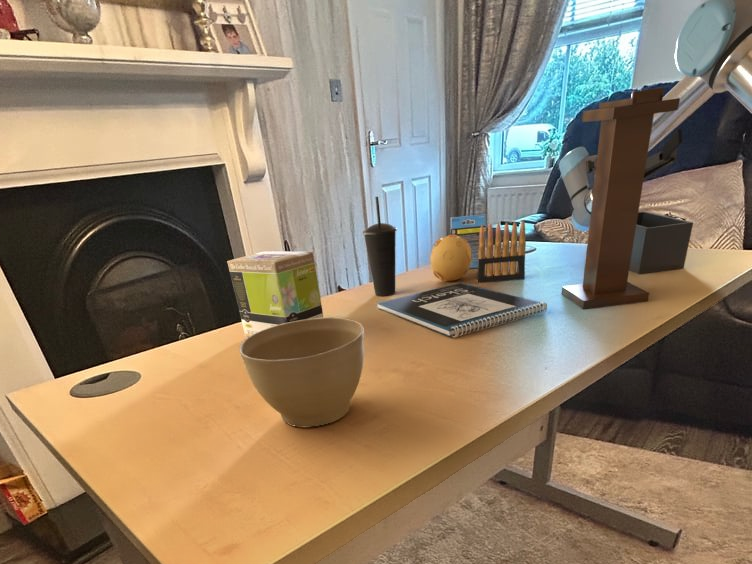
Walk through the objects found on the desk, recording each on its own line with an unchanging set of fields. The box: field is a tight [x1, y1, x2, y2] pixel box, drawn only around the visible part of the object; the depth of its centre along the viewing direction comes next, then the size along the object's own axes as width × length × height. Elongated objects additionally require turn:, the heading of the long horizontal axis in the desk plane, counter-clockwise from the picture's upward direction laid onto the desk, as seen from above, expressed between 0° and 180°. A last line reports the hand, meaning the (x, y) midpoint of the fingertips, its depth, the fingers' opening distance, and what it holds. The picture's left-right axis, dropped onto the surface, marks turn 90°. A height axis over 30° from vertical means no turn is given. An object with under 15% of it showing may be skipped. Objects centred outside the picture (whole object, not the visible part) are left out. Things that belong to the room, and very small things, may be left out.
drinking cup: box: [362, 196, 398, 297], centre depth 120 cm, size 8×8×20 cm
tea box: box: [226, 250, 325, 335], centre depth 104 cm, size 15×10×15 cm, turn 48°
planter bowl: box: [238, 316, 365, 428], centre depth 71 cm, size 16×16×11 cm
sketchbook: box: [376, 282, 548, 339], centre depth 107 cm, size 22×30×2 cm
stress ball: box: [429, 234, 472, 282], centre depth 126 cm, size 10×10×10 cm
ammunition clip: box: [477, 220, 527, 284], centre depth 120 cm, size 11×2×12 cm, turn 79°
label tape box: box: [449, 213, 487, 270], centre depth 134 cm, size 9×4×12 cm, turn 79°
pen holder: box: [629, 210, 694, 275], centre depth 120 cm, size 22×10×9 cm, turn 2°
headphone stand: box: [561, 87, 680, 310], centre depth 94 cm, size 13×12×32 cm
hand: (648, 140), depth 113 cm, fingers open, 13 cm apart
